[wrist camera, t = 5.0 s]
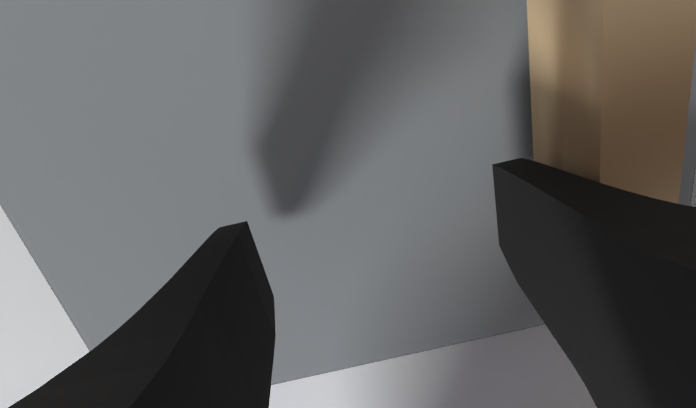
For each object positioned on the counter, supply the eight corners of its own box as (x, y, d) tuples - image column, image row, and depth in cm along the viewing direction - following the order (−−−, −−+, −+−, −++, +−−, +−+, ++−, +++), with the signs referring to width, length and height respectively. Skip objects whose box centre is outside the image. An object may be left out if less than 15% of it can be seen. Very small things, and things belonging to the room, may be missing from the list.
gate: (593, 298, 13) (672, 395, 11) (540, 310, 13) (604, 410, 11) (601, -183, 9) (750, -242, 6) (519, -163, 9) (627, -212, 6)
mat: (673, 287, 15) (680, 293, 14) (132, 407, 15) (129, 416, 15) (760, -500, 8) (776, -517, 7) (-256, -239, 8) (-274, -245, 8)
